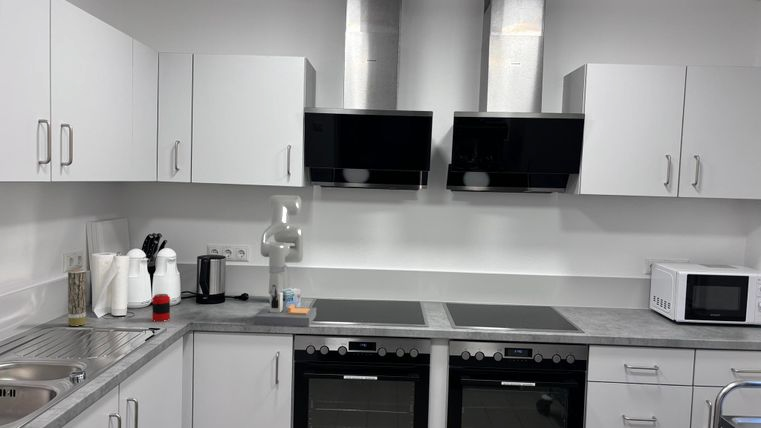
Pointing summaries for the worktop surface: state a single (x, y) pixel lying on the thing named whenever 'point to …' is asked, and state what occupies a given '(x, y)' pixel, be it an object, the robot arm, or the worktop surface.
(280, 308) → the plug
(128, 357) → the worktop surface
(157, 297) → the soda can
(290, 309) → the orange flat block
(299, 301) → the light bulb box
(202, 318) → the worktop surface
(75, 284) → the brown bark patterned cylinder
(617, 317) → the worktop surface
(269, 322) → the socket plate
